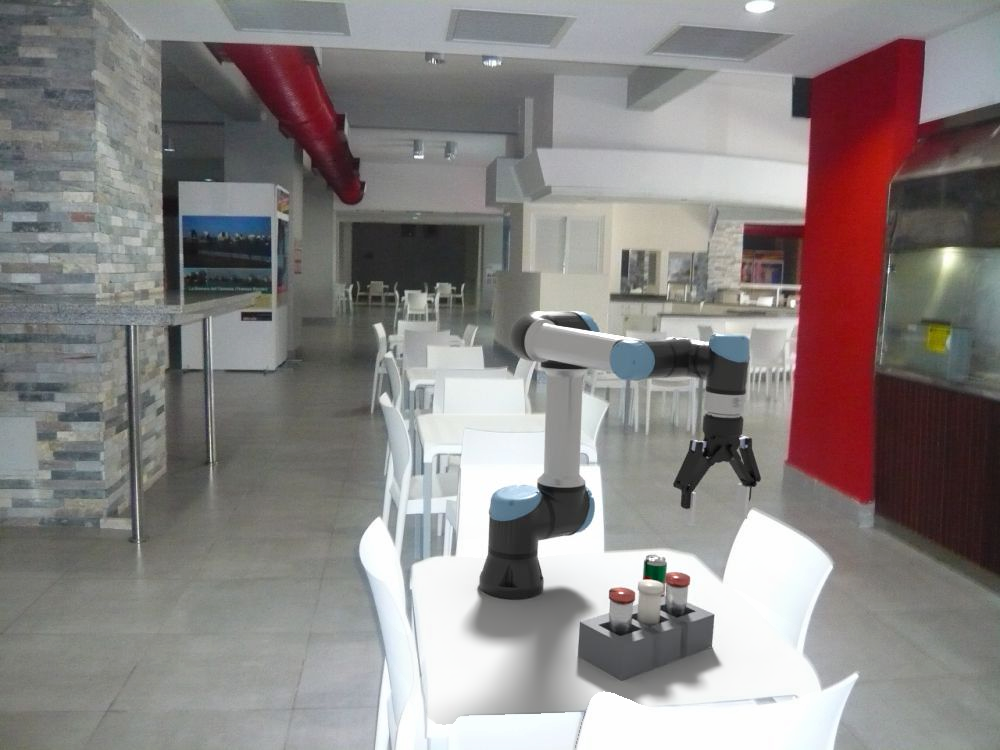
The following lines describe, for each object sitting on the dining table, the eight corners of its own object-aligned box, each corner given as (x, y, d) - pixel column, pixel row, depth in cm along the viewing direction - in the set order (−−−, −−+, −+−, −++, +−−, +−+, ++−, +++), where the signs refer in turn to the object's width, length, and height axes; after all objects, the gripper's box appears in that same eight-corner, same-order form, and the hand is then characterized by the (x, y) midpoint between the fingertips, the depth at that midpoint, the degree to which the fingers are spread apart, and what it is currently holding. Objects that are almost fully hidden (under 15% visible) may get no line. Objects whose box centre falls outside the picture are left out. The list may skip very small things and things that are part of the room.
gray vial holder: (621, 680, 162) (624, 644, 161) (577, 655, 172) (579, 621, 171) (711, 646, 178) (714, 614, 177) (667, 625, 188) (669, 594, 187)
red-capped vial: (600, 635, 170) (603, 590, 169) (619, 629, 173) (622, 585, 172) (619, 644, 166) (622, 599, 165) (637, 638, 169) (640, 594, 168)
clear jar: (657, 617, 180) (660, 575, 178) (673, 611, 183) (676, 570, 181) (675, 625, 176) (679, 582, 174) (692, 620, 179) (695, 578, 178)
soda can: (663, 615, 193) (667, 562, 192) (640, 612, 194) (643, 560, 193) (663, 606, 198) (667, 555, 197) (641, 603, 199) (644, 552, 198)
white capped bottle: (629, 625, 175) (632, 582, 173) (647, 620, 178) (650, 577, 177) (648, 635, 171) (651, 590, 170) (665, 629, 174) (668, 585, 173)
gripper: (685, 421, 159) (677, 533, 162) (785, 414, 171) (775, 519, 174) (659, 413, 166) (651, 521, 169) (757, 407, 177) (748, 508, 180)
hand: (714, 520), depth 171 cm, fingers open, 13 cm apart
